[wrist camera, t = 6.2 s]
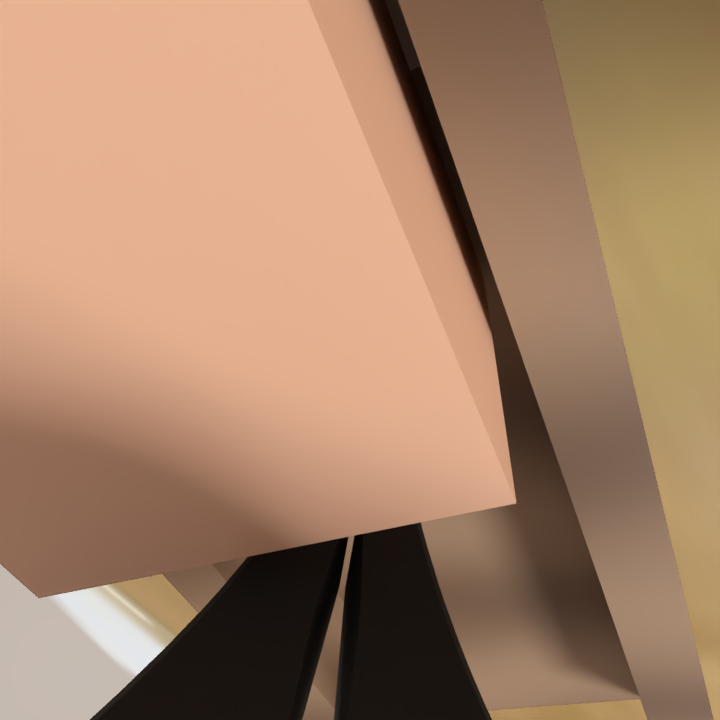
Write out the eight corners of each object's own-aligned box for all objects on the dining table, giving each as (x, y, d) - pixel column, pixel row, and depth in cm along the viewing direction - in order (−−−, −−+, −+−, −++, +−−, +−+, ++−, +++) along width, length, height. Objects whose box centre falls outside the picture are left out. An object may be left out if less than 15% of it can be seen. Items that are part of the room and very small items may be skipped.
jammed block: (483, 277, 9) (516, 502, 5) (194, 375, 11) (38, 598, 7) (360, -68, 7) (222, -206, 3) (25, 133, 9) (-364, 240, 5)
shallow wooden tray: (679, 658, 16) (734, 807, 13) (392, 685, 18) (381, 812, 16) (376, -474, 6) (306, -983, 3) (-132, -37, 9) (-426, -64, 6)
